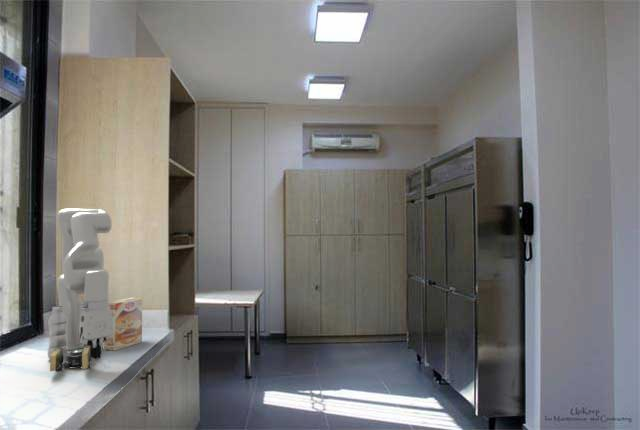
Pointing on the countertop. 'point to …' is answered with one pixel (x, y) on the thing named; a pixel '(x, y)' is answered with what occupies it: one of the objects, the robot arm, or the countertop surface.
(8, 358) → the countertop surface
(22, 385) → the countertop surface
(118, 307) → the coffeecake box
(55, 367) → the brushed brass bar
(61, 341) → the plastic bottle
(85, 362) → the tan block
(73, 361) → the tribrach base
